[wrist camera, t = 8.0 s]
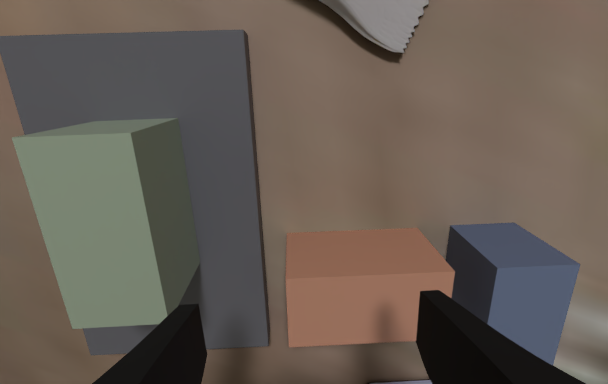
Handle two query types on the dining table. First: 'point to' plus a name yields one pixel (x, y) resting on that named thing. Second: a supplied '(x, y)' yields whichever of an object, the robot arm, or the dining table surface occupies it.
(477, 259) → the navy brick
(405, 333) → the terracotta brick
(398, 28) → the food package
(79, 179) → the green brick
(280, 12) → the dining table surface
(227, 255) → the tray
